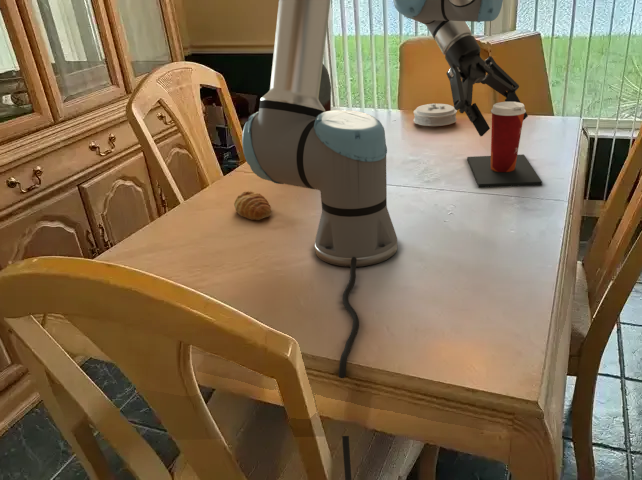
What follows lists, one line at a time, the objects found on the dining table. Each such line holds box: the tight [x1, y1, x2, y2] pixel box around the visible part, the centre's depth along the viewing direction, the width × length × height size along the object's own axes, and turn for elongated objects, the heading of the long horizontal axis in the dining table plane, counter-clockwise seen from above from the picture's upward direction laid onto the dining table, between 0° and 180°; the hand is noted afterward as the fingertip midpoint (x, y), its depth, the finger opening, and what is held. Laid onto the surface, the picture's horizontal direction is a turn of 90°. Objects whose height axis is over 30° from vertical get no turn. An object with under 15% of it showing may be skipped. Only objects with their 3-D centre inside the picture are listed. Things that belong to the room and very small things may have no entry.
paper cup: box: [490, 101, 527, 172], centre depth 141 cm, size 8×8×14 cm
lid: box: [413, 103, 458, 127], centre depth 180 cm, size 13×13×5 cm
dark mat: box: [466, 153, 543, 189], centre depth 145 cm, size 20×14×1 cm
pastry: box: [233, 190, 273, 221], centre depth 130 cm, size 9×7×4 cm
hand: (504, 126), depth 140 cm, fingers open, 13 cm apart
